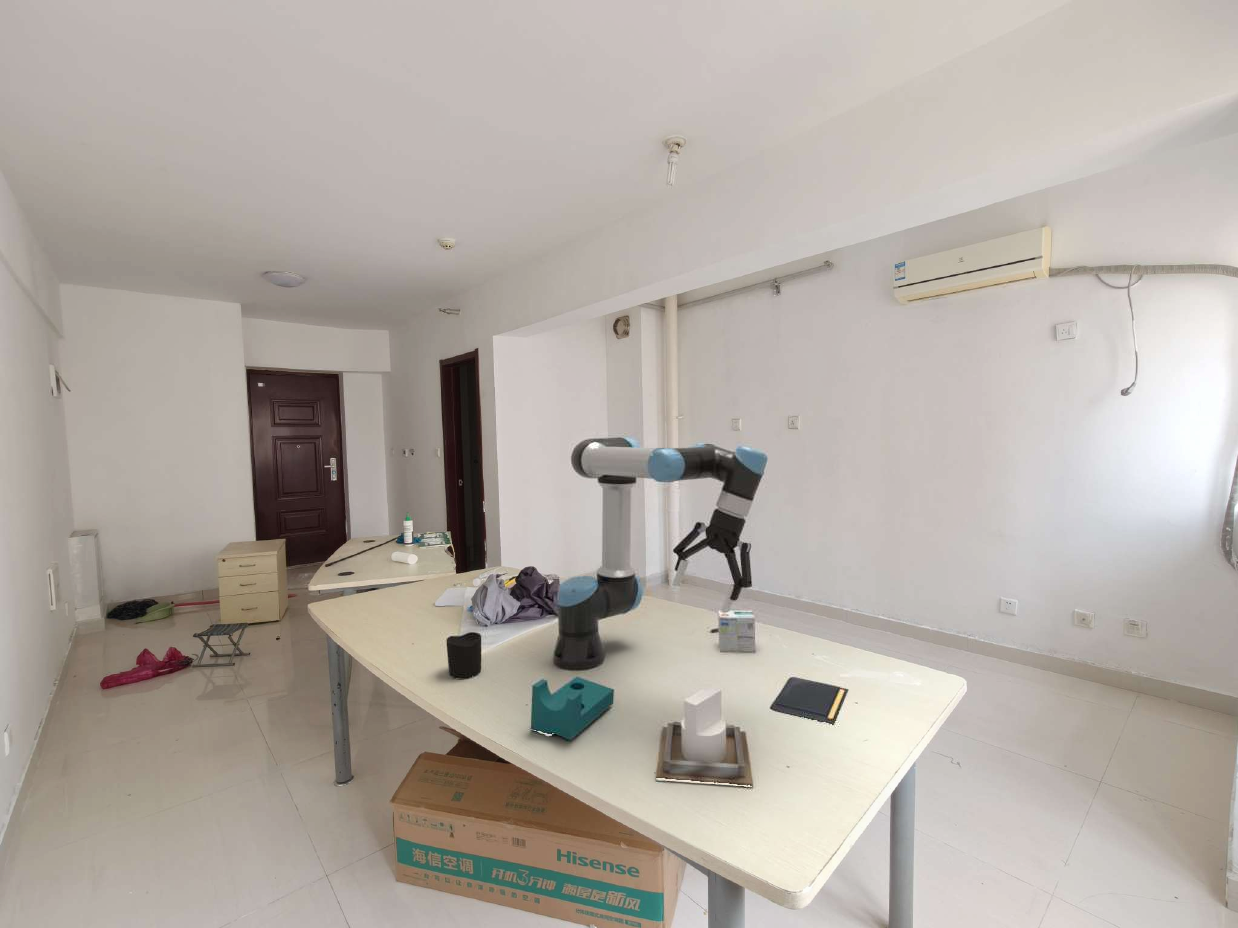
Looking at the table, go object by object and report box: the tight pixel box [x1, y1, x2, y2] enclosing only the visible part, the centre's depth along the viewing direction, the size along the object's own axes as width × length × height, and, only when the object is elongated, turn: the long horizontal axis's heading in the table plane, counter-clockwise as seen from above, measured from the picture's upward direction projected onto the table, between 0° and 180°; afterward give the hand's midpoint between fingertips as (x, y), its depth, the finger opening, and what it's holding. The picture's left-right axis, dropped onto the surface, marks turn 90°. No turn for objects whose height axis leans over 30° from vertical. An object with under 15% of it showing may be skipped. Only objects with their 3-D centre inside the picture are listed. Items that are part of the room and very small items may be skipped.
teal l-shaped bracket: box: [530, 676, 615, 741], centre depth 129 cm, size 18×11×10 cm, turn 150°
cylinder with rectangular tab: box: [680, 685, 727, 763], centre depth 113 cm, size 9×9×12 cm
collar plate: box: [655, 721, 754, 787], centre depth 113 cm, size 18×18×3 cm
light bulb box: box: [717, 610, 756, 653], centre depth 169 cm, size 11×7×11 cm, turn 84°
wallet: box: [769, 676, 849, 726], centre depth 136 cm, size 20×2×15 cm
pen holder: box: [445, 631, 482, 679], centre depth 155 cm, size 9×9×10 cm
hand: (699, 598), depth 129 cm, fingers open, 13 cm apart
